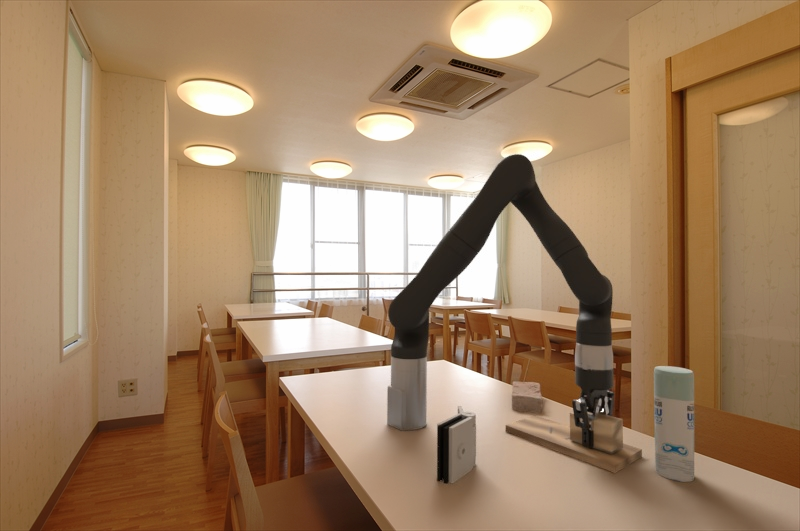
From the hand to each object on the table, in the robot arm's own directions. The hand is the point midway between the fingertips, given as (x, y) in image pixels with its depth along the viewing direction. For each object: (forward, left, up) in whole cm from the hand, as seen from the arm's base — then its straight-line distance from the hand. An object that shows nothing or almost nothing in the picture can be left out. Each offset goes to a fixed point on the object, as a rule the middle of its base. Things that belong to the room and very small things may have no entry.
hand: (594, 443), depth 88 cm
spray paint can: (+3, -14, -2) cm, 15 cm away
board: (0, +6, -2) cm, 6 cm away
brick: (+17, +30, -2) cm, 34 cm away
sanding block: (0, 0, 0) cm, 0 cm away
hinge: (-29, +13, -2) cm, 32 cm away
